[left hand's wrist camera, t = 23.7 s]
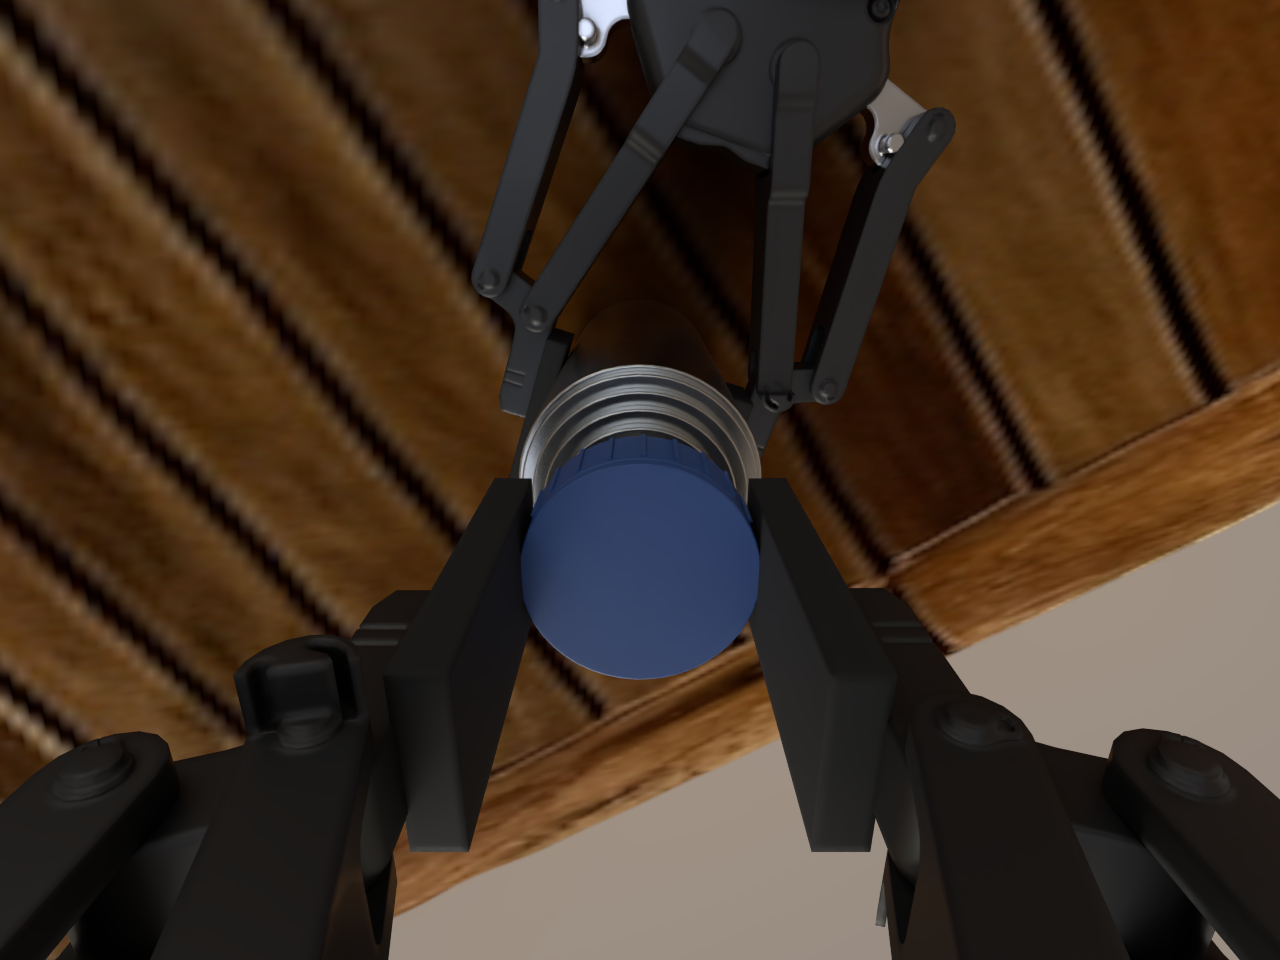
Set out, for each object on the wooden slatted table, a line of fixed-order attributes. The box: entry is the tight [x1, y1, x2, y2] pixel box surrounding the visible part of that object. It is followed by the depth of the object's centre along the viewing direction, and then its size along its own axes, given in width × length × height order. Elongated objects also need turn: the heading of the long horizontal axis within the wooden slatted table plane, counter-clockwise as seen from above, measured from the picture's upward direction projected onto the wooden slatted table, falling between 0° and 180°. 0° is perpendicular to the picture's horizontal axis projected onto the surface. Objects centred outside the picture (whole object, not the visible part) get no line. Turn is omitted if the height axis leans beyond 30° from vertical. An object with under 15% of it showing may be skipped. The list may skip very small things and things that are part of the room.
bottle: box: [518, 299, 762, 507], centre depth 22 cm, size 6×6×19 cm
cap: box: [520, 434, 760, 679], centre depth 14 cm, size 5×5×2 cm
